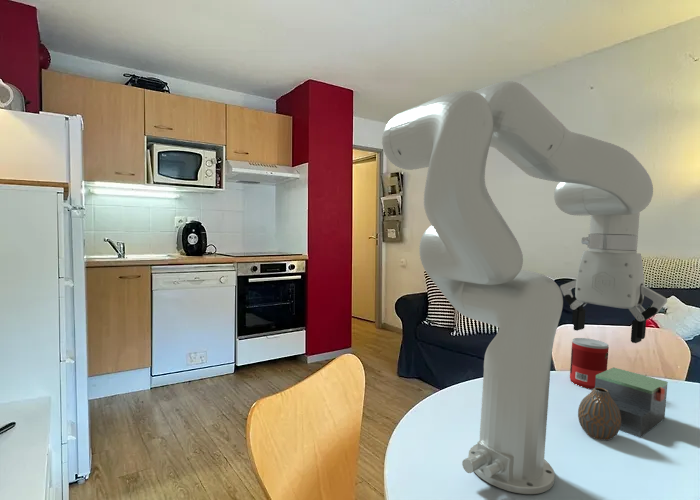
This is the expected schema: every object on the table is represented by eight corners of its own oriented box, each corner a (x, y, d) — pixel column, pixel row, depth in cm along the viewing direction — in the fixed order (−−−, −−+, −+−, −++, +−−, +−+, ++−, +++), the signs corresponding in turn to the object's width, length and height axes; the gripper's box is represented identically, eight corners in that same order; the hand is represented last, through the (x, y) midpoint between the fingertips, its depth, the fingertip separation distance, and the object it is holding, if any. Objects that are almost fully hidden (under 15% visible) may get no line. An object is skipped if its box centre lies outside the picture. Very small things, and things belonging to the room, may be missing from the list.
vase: (579, 422, 80) (582, 379, 80) (620, 433, 76) (623, 389, 76) (574, 435, 74) (578, 390, 74) (619, 449, 70) (622, 400, 70)
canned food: (611, 391, 97) (614, 347, 97) (575, 387, 99) (578, 344, 98) (598, 380, 105) (601, 339, 104) (565, 377, 106) (568, 336, 106)
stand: (645, 439, 74) (649, 397, 74) (583, 416, 83) (586, 378, 82) (669, 420, 82) (672, 383, 82) (611, 401, 91) (613, 367, 91)
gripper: (555, 242, 78) (550, 327, 79) (662, 247, 64) (655, 350, 65) (573, 242, 83) (567, 323, 84) (677, 247, 69) (669, 344, 70)
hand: (606, 335), depth 74 cm, fingers open, 9 cm apart
